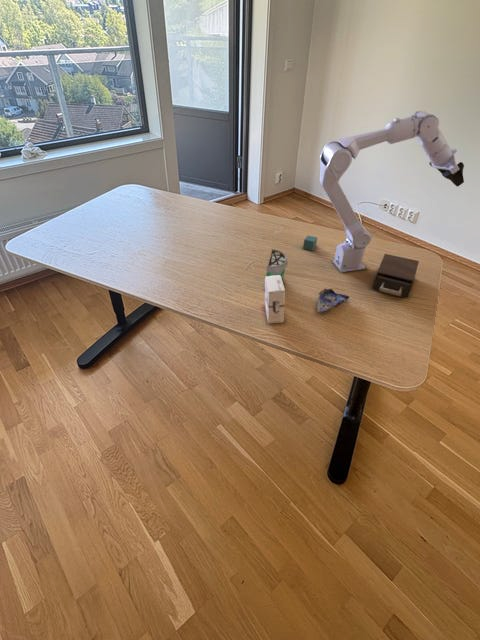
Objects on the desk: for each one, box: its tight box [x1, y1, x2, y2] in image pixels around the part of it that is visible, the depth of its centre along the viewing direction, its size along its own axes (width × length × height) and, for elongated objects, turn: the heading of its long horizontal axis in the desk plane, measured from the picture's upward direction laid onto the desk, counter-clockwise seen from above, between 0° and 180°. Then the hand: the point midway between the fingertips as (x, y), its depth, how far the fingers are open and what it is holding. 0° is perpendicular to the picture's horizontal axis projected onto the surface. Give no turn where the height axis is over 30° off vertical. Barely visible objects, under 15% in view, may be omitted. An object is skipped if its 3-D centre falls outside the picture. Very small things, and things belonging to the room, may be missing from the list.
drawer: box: [373, 274, 411, 299], centre depth 114 cm, size 17×10×5 cm, turn 152°
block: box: [302, 235, 318, 252], centre depth 137 cm, size 4×4×4 cm
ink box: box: [264, 275, 286, 324], centre depth 103 cm, size 9×5×12 cm, turn 5°
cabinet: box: [372, 253, 420, 298], centre depth 117 cm, size 13×11×7 cm
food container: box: [266, 248, 288, 282], centre depth 117 cm, size 12×6×10 cm, turn 168°
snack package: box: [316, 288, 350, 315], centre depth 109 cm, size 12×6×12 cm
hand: (454, 179), depth 110 cm, fingers open, 7 cm apart
